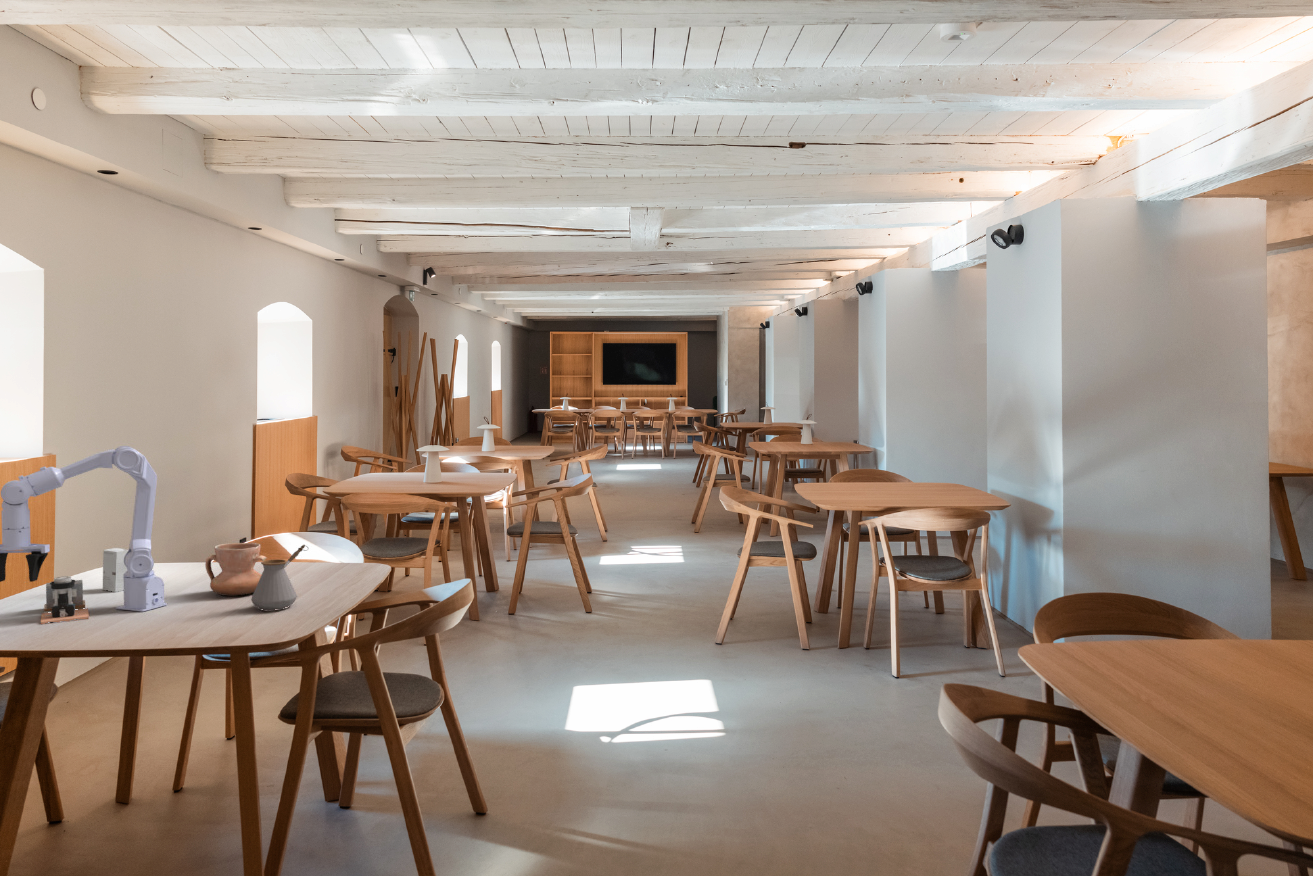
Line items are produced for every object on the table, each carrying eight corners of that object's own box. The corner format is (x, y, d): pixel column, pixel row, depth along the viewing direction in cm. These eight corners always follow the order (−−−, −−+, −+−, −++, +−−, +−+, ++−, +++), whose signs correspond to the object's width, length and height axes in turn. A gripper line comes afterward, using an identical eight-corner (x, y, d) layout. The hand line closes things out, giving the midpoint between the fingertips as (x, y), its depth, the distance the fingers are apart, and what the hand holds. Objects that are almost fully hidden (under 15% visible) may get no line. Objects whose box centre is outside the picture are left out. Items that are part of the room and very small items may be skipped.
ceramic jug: (278, 588, 254) (278, 541, 253) (251, 599, 239) (251, 550, 239) (221, 586, 255) (221, 540, 254) (191, 598, 241) (191, 548, 240)
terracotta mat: (88, 618, 217) (88, 616, 217) (40, 624, 211) (40, 622, 211) (87, 610, 225) (87, 608, 225) (41, 615, 219) (41, 613, 219)
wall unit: (85, 608, 227) (84, 583, 226) (44, 613, 222) (43, 587, 221) (84, 604, 232) (84, 579, 231) (44, 608, 226) (44, 583, 226)
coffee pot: (281, 614, 224) (281, 558, 223) (242, 612, 226) (241, 556, 225) (324, 595, 245) (323, 544, 244) (287, 594, 247) (287, 543, 246)
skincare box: (101, 590, 248) (101, 549, 248) (116, 587, 252) (116, 547, 252) (115, 592, 246) (114, 551, 245) (130, 589, 250) (129, 549, 250)
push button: (43, 620, 213) (42, 581, 212) (45, 615, 217) (45, 577, 217) (74, 617, 216) (74, 578, 215) (77, 612, 221) (76, 574, 220)
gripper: (56, 525, 217) (57, 577, 218) (-5, 525, 215) (-4, 578, 216) (39, 529, 210) (40, 583, 211) (-24, 530, 208) (-22, 584, 209)
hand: (17, 581), depth 213 cm, fingers open, 7 cm apart
